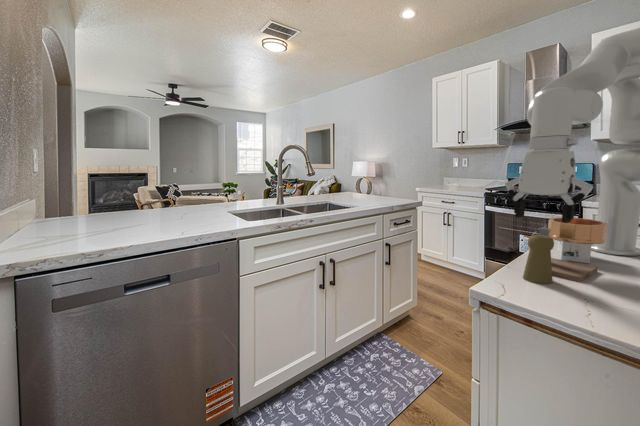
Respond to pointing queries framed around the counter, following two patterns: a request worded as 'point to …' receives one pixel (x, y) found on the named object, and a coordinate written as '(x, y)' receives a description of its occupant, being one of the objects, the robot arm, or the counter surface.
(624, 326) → the counter surface
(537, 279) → the cork
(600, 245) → the robot arm
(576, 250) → the light bulb box
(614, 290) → the counter surface
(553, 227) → the cup bracket
